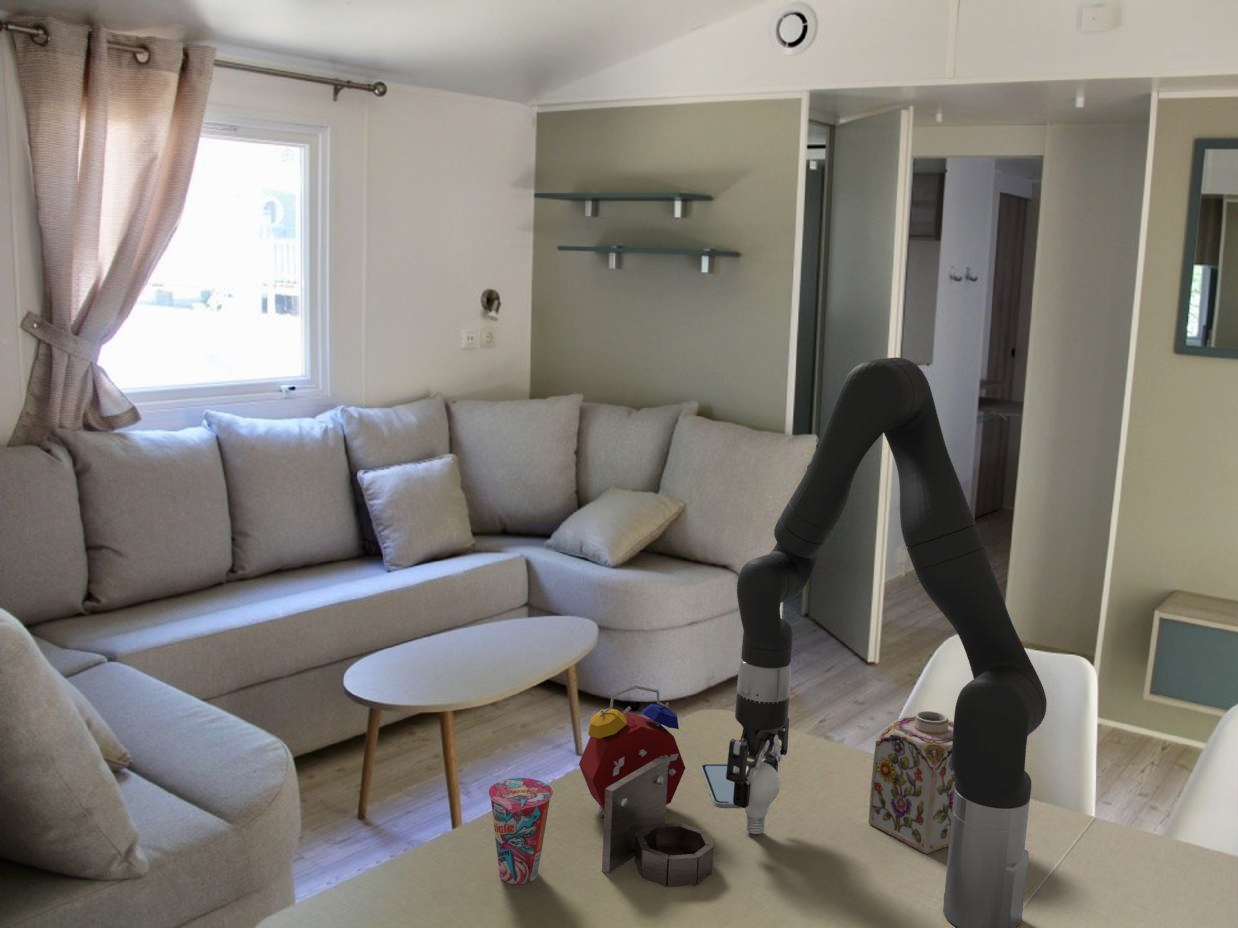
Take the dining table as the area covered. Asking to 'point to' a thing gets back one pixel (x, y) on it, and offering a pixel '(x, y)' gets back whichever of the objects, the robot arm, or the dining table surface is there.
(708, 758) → the dining table surface
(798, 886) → the dining table surface
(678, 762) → the alarm clock
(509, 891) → the dining table surface
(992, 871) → the robot arm
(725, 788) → the smartphone
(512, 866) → the cup
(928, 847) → the decorative jar
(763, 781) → the lightbulb
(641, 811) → the bracket
